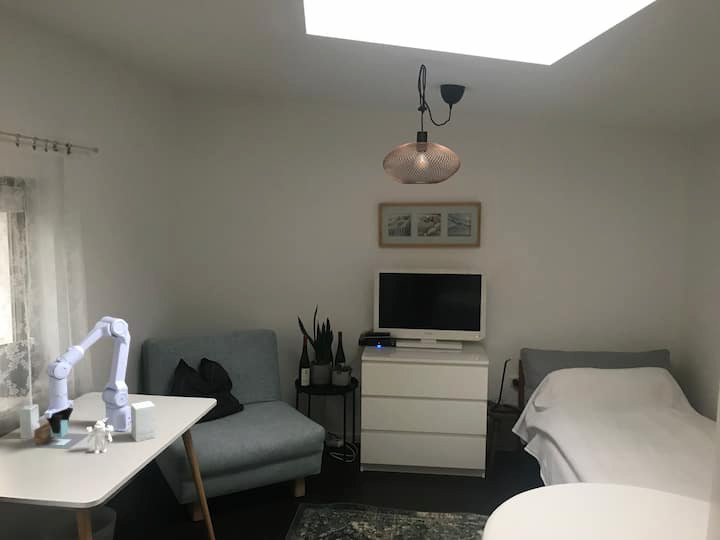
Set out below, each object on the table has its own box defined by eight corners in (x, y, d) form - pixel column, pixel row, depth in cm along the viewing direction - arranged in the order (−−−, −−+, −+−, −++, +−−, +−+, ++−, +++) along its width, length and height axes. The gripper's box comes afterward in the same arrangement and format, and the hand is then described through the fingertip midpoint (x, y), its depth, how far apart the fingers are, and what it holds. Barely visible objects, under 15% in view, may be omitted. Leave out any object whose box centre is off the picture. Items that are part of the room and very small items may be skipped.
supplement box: (156, 438, 217) (155, 405, 216) (135, 442, 213) (134, 409, 212) (151, 431, 223) (150, 400, 222) (131, 435, 219) (130, 403, 218)
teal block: (67, 433, 211) (67, 420, 211) (61, 437, 207) (61, 423, 207) (57, 432, 211) (57, 419, 211) (50, 436, 207) (50, 423, 207)
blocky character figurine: (114, 448, 207) (113, 415, 206) (113, 452, 203) (112, 419, 202) (87, 451, 204) (86, 418, 203) (85, 455, 201) (84, 422, 199)
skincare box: (32, 441, 213) (30, 409, 212) (20, 441, 213) (18, 409, 212) (40, 434, 219) (39, 404, 218) (28, 434, 219) (27, 404, 218)
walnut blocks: (59, 435, 216) (58, 422, 216) (45, 443, 208) (44, 430, 207) (49, 434, 216) (48, 421, 216) (34, 443, 208) (34, 430, 208)
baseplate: (90, 436, 217) (90, 433, 217) (68, 451, 204) (68, 448, 203) (50, 435, 219) (49, 432, 219) (26, 449, 205) (25, 446, 205)
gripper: (59, 388, 215) (61, 423, 217) (35, 400, 201) (36, 437, 202) (78, 388, 215) (79, 423, 216) (54, 400, 200) (56, 438, 202)
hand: (60, 430), depth 209 cm, fingers closed on teal block, 4 cm apart
